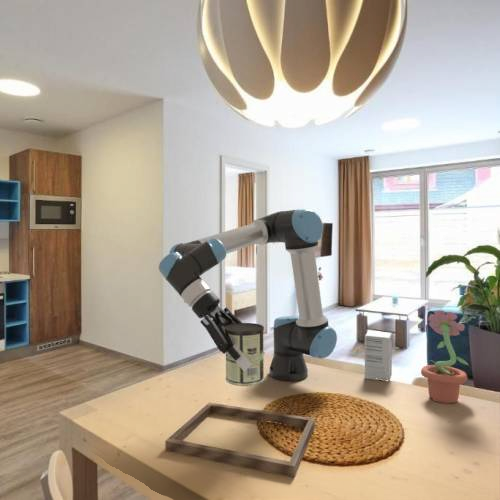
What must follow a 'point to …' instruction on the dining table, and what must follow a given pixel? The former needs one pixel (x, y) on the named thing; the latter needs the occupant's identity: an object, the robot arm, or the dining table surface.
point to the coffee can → (246, 354)
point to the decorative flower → (441, 375)
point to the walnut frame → (240, 458)
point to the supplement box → (378, 355)
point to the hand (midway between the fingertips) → (255, 361)
